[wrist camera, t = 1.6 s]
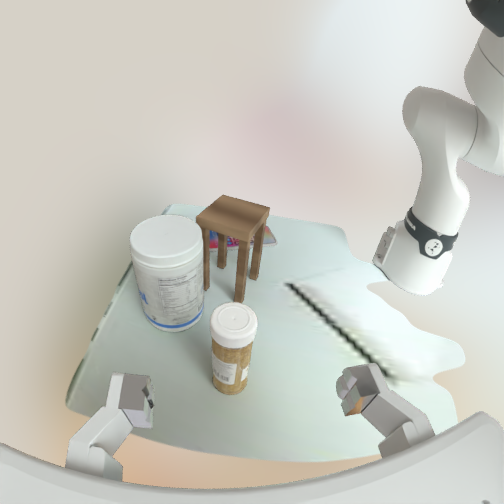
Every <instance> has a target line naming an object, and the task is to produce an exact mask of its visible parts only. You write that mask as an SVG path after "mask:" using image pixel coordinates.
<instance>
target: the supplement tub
mask: <svg viewBox="0 0 504 504" xmlns="http://www.w3.org/2000/svg"><path fill="white" fill-rule="evenodd" d="M130 251H131V257H132V262H133V267H134V272H135V276H136V280H137V285H138V289H139V293H140V297H141V301H142V305H143V309H144V313H145V316H146V318H147V319H148V321H149V322H150V323H151V324H152V325H153V326H155V327H156V328H158V329H160V330H163V331H167V332H179V331H183V330H186V329H189V328H190V327H192V326H193V325H195V324H196V323H197V322H198V321H199V319H200V318H201V316H202V314H203V310H204V287H203V239H202V231H201V228H200V227H199V225H198V224H197V223H196V222H194V221H193V220H191V219H189V218H187V217H183V216H179V215H160V216H155V217H152V218H149V219H147V220H144V221H143V222H141V223H139V224H138V225H137V226H136V227H135V228H134V229H133V231H132V232H131V235H130Z"/></svg>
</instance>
